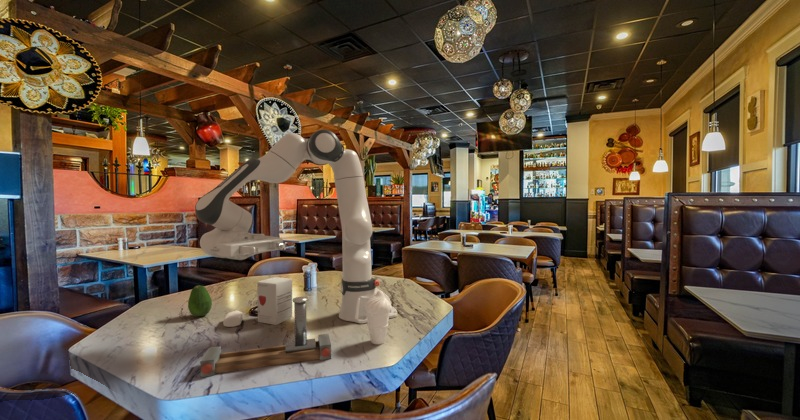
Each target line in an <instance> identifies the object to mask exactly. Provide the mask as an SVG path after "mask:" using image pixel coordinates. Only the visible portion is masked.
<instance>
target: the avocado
mask: <svg viewBox="0 0 800 420" xmlns="http://www.w3.org/2000/svg"><path fill="white" fill-rule="evenodd" d="M187 302H188V303H187V309H188V311H189V313H190V315H192V316H194V317H204V316H206V315H208V314H209V313H210V311H211V310H212V306H213V302H212V297H211V295H210V293H209V291H208V290H207V288H206V287H205V286H204V285H200V284H198V285H195V286H194V287H193V288H192V289H191V290H190V295H189V297H188V301H187Z"/></svg>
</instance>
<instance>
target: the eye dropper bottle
mask: <svg viewBox="0 0 800 420" xmlns="http://www.w3.org/2000/svg"><path fill="white" fill-rule="evenodd" d="M243 318H244V313H243V312H242V311H240V310H238V309H233V311H229V312H227V313H226V315H225V316H224V318H223V323H222V325H223V326H224V327H228V328H232V327H233V328H234V327H237V326H240V325H241V324H242V322H243V321H242V320H243Z"/></svg>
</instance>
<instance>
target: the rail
mask: <svg viewBox="0 0 800 420" xmlns="http://www.w3.org/2000/svg"><path fill="white" fill-rule="evenodd" d="M317 338H318V340H315V342H316V349H313V350H306V351H298V352H290V353H286V344H283V345H276V346H275V345H274V346H269V347H268V346H267V347H260V348H253V349H252V348H251V349H244V350H236V351H228V352H222V346H213V347H208V348H207V350H206V352H205V353H204V355H203V356H202V358H201V360H200V361H199V362H200V364H199V365H200V378H204V377H205V378H206V377H213V376H215V374H219V373H228V372H235V371H241V370H248V369H256V368H263V367H269V366H276V365H283V364H285V365H286V364H291V363H299V362H305V361H307V362H308V361H311V360H312V361H313V360H319V361H323V360H324V361H325V360H330V359H331V360H332V341H331V339H330V334H329V333H323V334H322V333H321V334H318V336H317Z"/></svg>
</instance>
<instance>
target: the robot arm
mask: <svg viewBox="0 0 800 420" xmlns="http://www.w3.org/2000/svg"><path fill="white" fill-rule="evenodd" d="M309 137H310V138H304V137H302V135H300V134H297V133H295V132H287V133H286V134H285V135H283V136H282V137H281V138H280V139H279V140H278V141H277V142H275V143H274V145H273V146H271V147H270V149H269V150H268V151H267V152H266V154H264V155H263V156H260V157H258V158H250V159H248V160H247V161H245V162H244V163H242V164H241V165H240V166H238V167H237V169H235V170H234V171H232V173H231V174H229V175H228V176H227V177H226V178H225V179H224V180H222V182H220V183H219V184H217V186H216V187H213V189H212V190H210V191H208V192H207V193H205V194H204V195H203V196H201V197H200V198H199V199H198V200H197V201H196V202H195V205H194V212H195V216H196V219H197V220H198V221H199V222H202V223H204V224H207V225H209V226H213V227H214V229H212V230H210V231H208V232H206V233H204V234H202V236H201V237H200V240H199V246H200V248H201V250H202V251H203V252H204V253H205V254H207V255H208V256H210V257H214V258H221V259H229V260H238V261H243V260H246V259H248V258H250V257H253V256H255V255H258V254H262V253H267V252H272V251H273V252H274V251H279V250H280V251H281V250H284V249H285V243H284V239H283V238H282V237H279V236H272V235H265V233H251V231H253V226H254V218H253V214H252V213H251V212H249V211H248V210H246V209H245V208H244V207H241V206H240V205H238V204H236V203H234V202H232V201H231V200H230V198H231V197H232V196H233V195H234V194H235V193H237V192H238V190H241V188H242V187H244V185H246V184H247V183H248V182H250V181H262V182H266V183H269V184H270V183H271V184H281V183H284V182H286V181H287V180H289V179H290V178H291V177H292V176H293V175H294V173H295V172H296V170H297V169H298V167H299V166H301V164H302V163H303V162H304V161H305V162H308V163H311V164H312V165H313V164H314V165H316V166H326V165H329V166H330V168H331V170H332V172H333V177H334V178H333V180H334V186H335V192H336V199H337V204H338V205H337V206H338V211H339V213H338V214H339V219H340V226H341V232H342V233H341V234H342V236H341V237H342V238H341V240H342V244H341V246H342V248H341V249H342V254H341V256H342V257H341V259H342V279H341V282H340V286H341V288H340V289H341V292H340V293H341V304H340V310H339V313H338V318H339V319H340V320H341V321H347V322H353V323H356V324H368V322H367V315H366V310H365V306H364V305H365V304H366V301H367V300H369V299H370V298H371V297H373V296H374V295H376V293H377V292H378V291H382V290H381V289H380V288H378V287H379V286H380V284H381V282H380V281H379V280H378V279H376V278H373V277H372V249H371V247H372V246H371V237H372V235H373V224H372V219H371V218H372V217H371V212H370V208H369V203H368V198H367V190H366V185H365V179H364V173H363V167H362V164H361V161H360V158H359V155H358V154H357V152H356V151H355V150H352V149H345V147H344V145H343V143H342V142H341V141H340V139H339V138H338V136H337V135H336V133H334V132H333V131H332V130H330V129H325V128H324V129H318V130H316V131H314V132H313V133H312V134H311V135H310V136H309ZM383 293H384V296H385V298H386V299H387V300H388V301H389V302H390V304H391V310H390V312H389V313H390V314H389V319H392V318H397V317H398V310H397V309H396V308H395V307H394V306H392V302H391V299H390V297H389V296H388V295H387V294H386V293H385V292H383Z"/></svg>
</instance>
